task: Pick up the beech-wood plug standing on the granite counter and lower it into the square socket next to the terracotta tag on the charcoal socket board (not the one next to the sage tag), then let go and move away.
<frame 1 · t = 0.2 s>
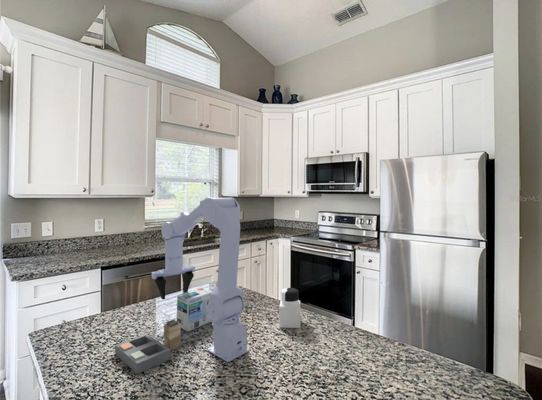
hand: (174, 295, 101), 10 cm above the countertop, fingers open, 7 cm apart
port board: (142, 356, 81), on the countertop
medicine bottle: (290, 324, 102), on the countertop
light bulb box: (194, 323, 102), on the countertop
plug: (172, 346, 87), on the countertop
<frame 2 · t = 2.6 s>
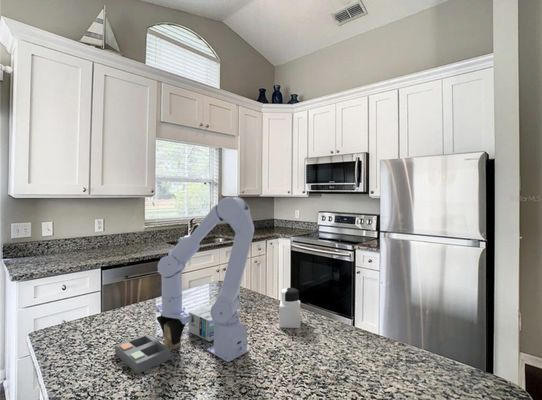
hand: (172, 341, 87), 1 cm above the countertop, fingers closed on plug, 3 cm apart
light bulb box: (201, 316, 100), point 3 cm above the countertop
plug: (172, 346, 87), on the countertop, touching gripper
everything else where it was.
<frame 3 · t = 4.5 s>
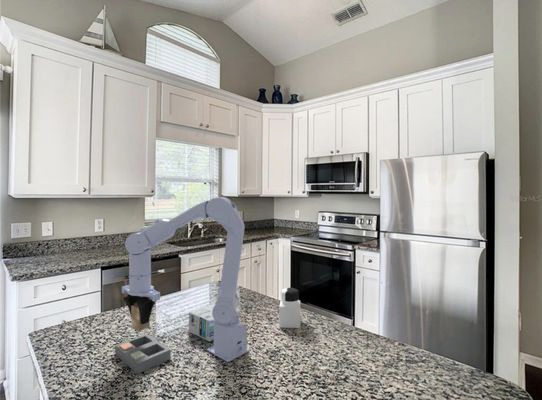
hand: (140, 321, 84), 8 cm above the countertop, fingers closed on plug, 3 cm apart
plug: (140, 327, 84), point 7 cm above the countertop, touching gripper
everything else where it was.
when the fingers open (3 cm above the countertop, at t = 6.6 s): plug drops 1 cm, resting on port board.
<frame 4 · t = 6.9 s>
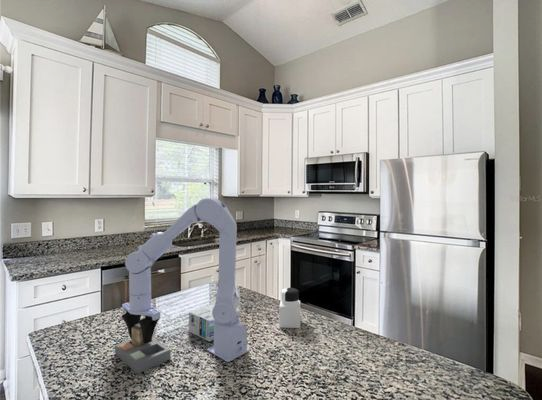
hand: (140, 339, 85), 3 cm above the countertop, fingers open, 5 cm apart
plug: (140, 349, 85), resting on port board
everything else where it was.
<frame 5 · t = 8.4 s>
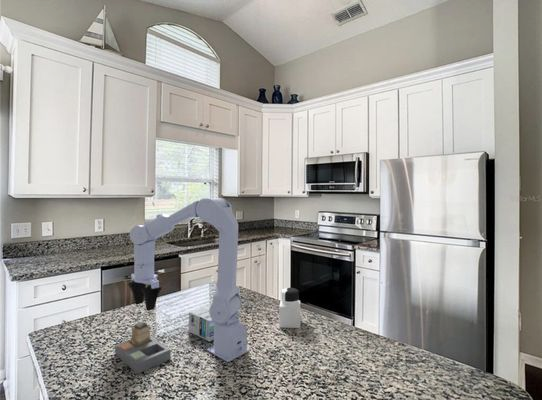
hand: (144, 306, 92), 10 cm above the countertop, fingers open, 7 cm apart
nothing on the countertop moved.
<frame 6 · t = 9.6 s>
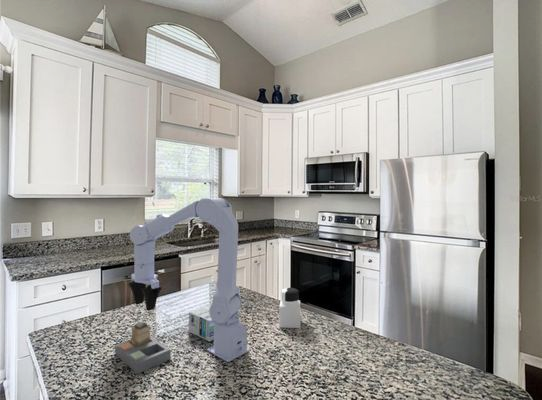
hand: (144, 306, 92), 10 cm above the countertop, fingers open, 7 cm apart
nothing on the countertop moved.
at the end: plug 0.0 cm from the target spot on the port board, point 0.4 cm above the port board's base; plug tilted 0°; the gripper is holding nothing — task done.
